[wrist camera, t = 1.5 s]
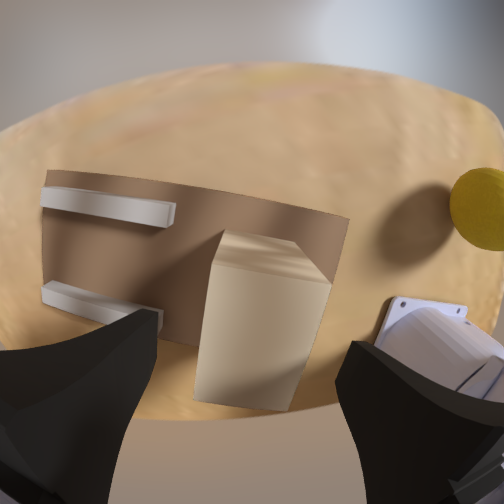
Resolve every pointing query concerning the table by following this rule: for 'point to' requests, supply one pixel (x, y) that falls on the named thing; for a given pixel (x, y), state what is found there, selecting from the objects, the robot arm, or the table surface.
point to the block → (258, 322)
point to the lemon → (480, 208)
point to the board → (158, 245)
